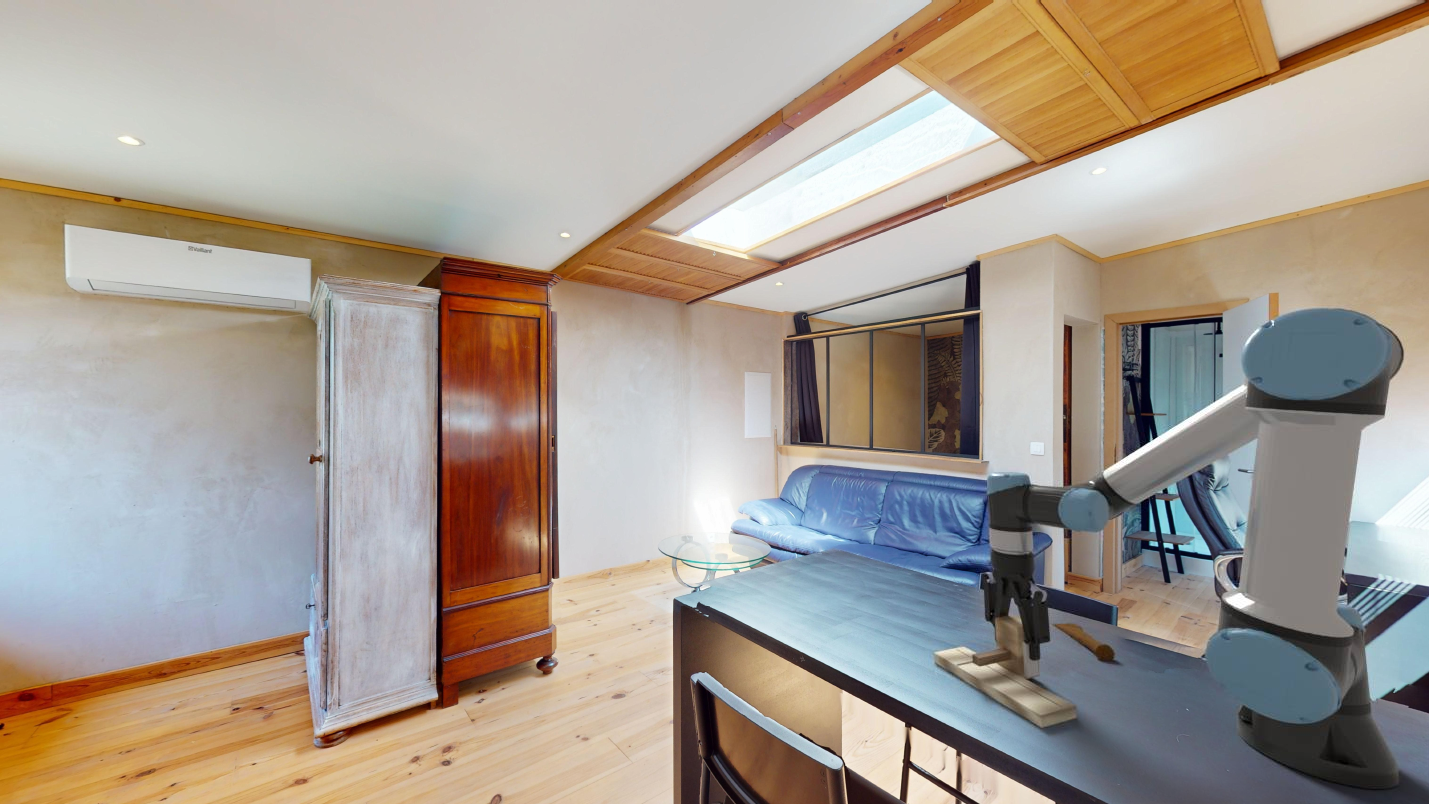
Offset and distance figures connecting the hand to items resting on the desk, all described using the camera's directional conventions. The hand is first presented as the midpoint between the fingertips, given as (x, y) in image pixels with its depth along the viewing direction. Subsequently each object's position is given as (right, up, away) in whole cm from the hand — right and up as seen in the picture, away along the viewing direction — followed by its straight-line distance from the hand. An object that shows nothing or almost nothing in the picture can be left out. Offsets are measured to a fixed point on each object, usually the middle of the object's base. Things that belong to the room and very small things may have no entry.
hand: (1017, 667), depth 96 cm
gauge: (-4, -1, -1) cm, 4 cm away
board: (-6, -2, -4) cm, 7 cm away
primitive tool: (+24, -3, +15) cm, 29 cm away
